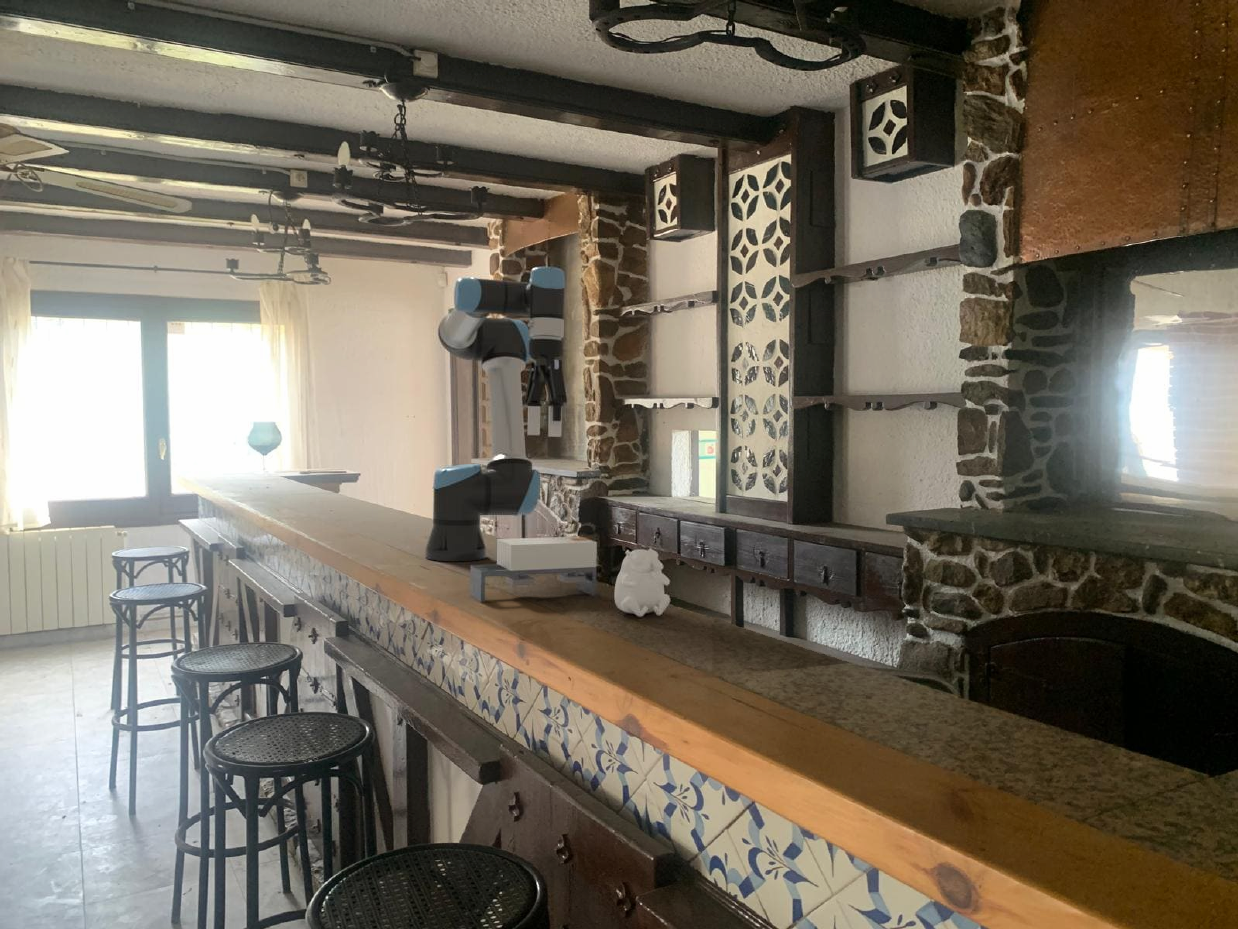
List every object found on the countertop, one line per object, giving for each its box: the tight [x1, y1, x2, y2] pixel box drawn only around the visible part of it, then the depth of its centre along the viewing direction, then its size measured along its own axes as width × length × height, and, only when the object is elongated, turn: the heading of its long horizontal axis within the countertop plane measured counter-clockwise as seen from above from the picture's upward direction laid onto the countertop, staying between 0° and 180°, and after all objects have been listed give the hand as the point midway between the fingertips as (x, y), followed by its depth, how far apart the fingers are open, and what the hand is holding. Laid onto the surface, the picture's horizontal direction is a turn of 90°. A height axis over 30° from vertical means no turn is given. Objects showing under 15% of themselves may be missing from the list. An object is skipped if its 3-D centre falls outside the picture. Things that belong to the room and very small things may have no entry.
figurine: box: [613, 547, 671, 618], centre depth 171 cm, size 10×10×12 cm
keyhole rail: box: [469, 563, 597, 603], centre depth 186 cm, size 8×24×6 cm, turn 115°
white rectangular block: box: [496, 536, 598, 587], centre depth 187 cm, size 9×18×9 cm, turn 115°
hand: (543, 436), depth 204 cm, fingers open, 13 cm apart
